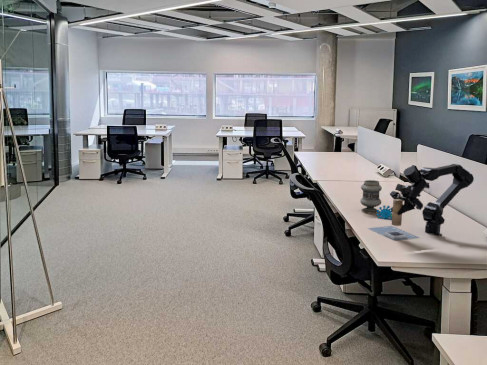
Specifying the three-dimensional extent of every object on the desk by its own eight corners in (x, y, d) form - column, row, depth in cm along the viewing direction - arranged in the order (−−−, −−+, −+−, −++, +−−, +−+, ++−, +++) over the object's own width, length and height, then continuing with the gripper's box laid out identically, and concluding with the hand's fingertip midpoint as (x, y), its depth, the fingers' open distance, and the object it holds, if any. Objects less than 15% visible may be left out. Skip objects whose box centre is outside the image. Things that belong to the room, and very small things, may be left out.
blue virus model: (373, 217, 268) (380, 202, 272) (374, 222, 272) (380, 208, 276) (393, 222, 262) (399, 207, 266) (393, 228, 267) (400, 213, 271)
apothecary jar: (355, 209, 292) (357, 179, 289) (373, 207, 296) (375, 179, 293) (366, 213, 281) (368, 183, 278) (384, 212, 285) (386, 182, 281)
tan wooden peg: (394, 222, 235) (395, 198, 233) (402, 224, 232) (404, 200, 230) (389, 224, 232) (391, 200, 230) (398, 226, 229) (400, 201, 227)
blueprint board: (391, 227, 253) (391, 225, 252) (420, 239, 232) (420, 237, 232) (367, 230, 248) (367, 227, 247) (393, 242, 227) (394, 240, 227)
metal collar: (397, 233, 238) (397, 231, 238) (407, 238, 231) (407, 235, 231) (383, 235, 236) (384, 232, 235) (393, 239, 228) (393, 236, 228)
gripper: (394, 174, 238) (373, 198, 236) (419, 181, 221) (397, 206, 219) (406, 189, 242) (386, 212, 240) (432, 197, 225) (411, 222, 223)
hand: (394, 213), depth 231 cm, fingers closed on tan wooden peg, 4 cm apart
